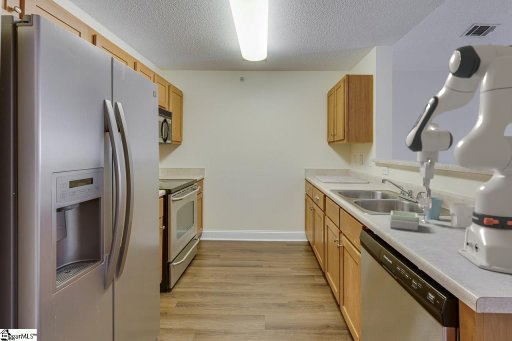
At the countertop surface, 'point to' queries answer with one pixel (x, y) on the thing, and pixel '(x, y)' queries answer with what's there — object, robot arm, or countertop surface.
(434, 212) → the cup
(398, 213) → the grey green box
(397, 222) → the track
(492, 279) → the countertop surface
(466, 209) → the cup
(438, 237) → the countertop surface
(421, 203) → the wineglass
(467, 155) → the robot arm
